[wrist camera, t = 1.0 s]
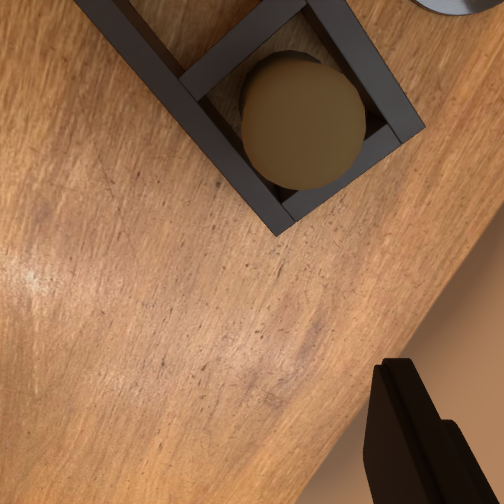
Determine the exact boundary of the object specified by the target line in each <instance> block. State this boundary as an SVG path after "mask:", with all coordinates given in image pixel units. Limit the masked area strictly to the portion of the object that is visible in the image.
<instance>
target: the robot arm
mask: <svg viewBox="0 0 504 504" xmlns="http://www.w3.org/2000/svg"><path fill="white" fill-rule="evenodd" d="M363 461H364V467H365V471H366V475H367V479H368V483H369V487H370V491H371V495H372V498H373V503H374V504H500V503H499V502H498V500H497V498H496V496H495V494H494V492H493V490H492V488H491V486H490V485H489V483H488V481H487V479H486V477H485V475H484V473H483V472H482V470H481V468H480V466H479V464H478V462H477V460H476V458H475V456H474V455H473V453H472V451H471V449H470V447H469V445H468V443H467V441H466V440H465V438H464V436H463V434H462V432H461V430H460V428H459V427H458V425H457V424H456V423H455V422H454V421H453V420H441V418H440V416H439V414H438V412H437V410H436V408H435V406H434V404H433V402H432V400H431V398H430V396H429V394H428V392H427V390H426V388H425V386H424V384H423V382H422V380H421V378H420V376H419V374H418V372H417V370H416V368H415V366H414V364H413V362H412V360H411V359H409V358H384V359H383V361H382V365H375V366H374V370H373V377H372V385H371V393H370V400H369V408H368V416H367V423H366V431H365V438H364V446H363Z"/></svg>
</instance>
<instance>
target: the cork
mask: <svg viewBox="0 0 504 504" xmlns="http://www.w3.org/2000/svg"><path fill="white" fill-rule="evenodd" d="M239 109H240V115H241V121H242V125H241V134H242V140H243V146H244V150H245V152H246V154H247V156H248V158H249V160H250V161H251V163H252V165H253V167H254V168H255V169H256V170H257V171H258V172H259V173H260V174H261V175H262V176H264V177H265V178H266V179H267V180H269V181H271V182H273V183H275V184H277V185H279V186H281V187H283V188H287V189H294V190H301V191H303V190H310V189H316V188H321V187H323V186H325V185H327V184H329V183H331V182H333V181H335V180H337V179H338V178H339V177H340V176H342V175H343V174H344V173H345V172H346V171H347V170H348V169H349V168H350V167H351V166H352V164H353V163H354V161H355V159H356V158H357V156H358V154H359V153H360V151H361V148H362V144H363V140H364V136H365V132H366V122H365V108H364V106H363V103H362V101H361V98H360V96H359V93H358V91H357V89H356V88H355V87H354V86H353V85H352V83H351V82H350V81H349V80H348V79H347V78H346V76H345V75H343V74H342V73H340V72H338V71H336V70H335V69H333V68H331V67H329V66H327V65H324V64H322V63H321V62H320V61H319V60H317V59H316V58H314V57H312V56H310V55H308V54H307V53H304V52H298V51H292V50H287V51H282V52H276V53H273V54H271V55H269V56H267V57H266V58H264V59H262V60H260V61H259V62H258V63H257V64H256V65H255V66H254V67H253V68H252V69H251V71H250V72H249V73H248V74H247V76H246V79H245V81H244V83H243V85H242V87H241V92H240V99H239Z"/></svg>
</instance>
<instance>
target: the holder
mask: <svg viewBox="0 0 504 504" xmlns="http://www.w3.org/2000/svg"><path fill="white" fill-rule="evenodd" d="M74 1H75V3H76V4H77V5H78V6H79V7H80V8H81V10H82V11H83V12H84V13H85V14H86V15H87V17H88V18H89V19H90V20H91V21H92V22H93V24H94V25H95V26H96V27H97V28H98V29H99V31H100V32H101V33H102V34H103V35H104V36H105V38H106V39H107V40H108V41H109V42H110V44H111V45H112V46H113V47H114V48H115V49H116V51H117V52H118V53H119V54H120V55H121V56H122V58H123V59H124V60H125V61H126V62H127V63H128V65H129V66H130V67H131V68H132V69H133V70H134V72H135V73H136V74H137V75H138V76H139V77H140V79H141V80H142V81H143V82H144V83H145V84H146V86H147V87H148V88H149V89H150V90H151V91H152V93H153V94H154V95H155V96H156V97H157V98H158V100H159V101H160V102H161V103H162V104H163V105H164V107H165V108H166V109H167V110H168V111H169V113H170V114H171V115H172V116H173V117H174V118H175V120H176V121H177V122H178V123H179V124H180V125H181V127H182V128H183V129H184V130H185V131H186V132H187V134H188V135H189V136H190V137H191V138H192V139H193V141H194V142H195V143H196V144H197V145H198V146H199V148H200V149H201V150H202V151H203V152H204V153H205V155H206V156H207V157H208V158H209V159H210V160H211V162H212V163H213V164H214V165H215V166H216V167H217V169H218V170H219V171H220V172H221V173H222V175H223V176H224V177H225V178H226V179H227V180H228V182H229V183H230V184H231V185H232V186H233V187H234V189H235V190H236V191H237V192H238V193H239V194H240V196H241V197H242V198H243V199H244V200H245V201H246V203H247V204H248V205H249V206H250V207H251V208H252V210H253V211H254V212H255V213H256V214H257V215H258V217H259V218H260V219H261V220H262V221H263V222H264V224H265V225H266V226H267V227H268V228H269V229H270V231H271V232H272V233H273V234H274V235H275V236H276V237H277V236H278V235H280V234H281V233H282V232H284V231H285V230H287V229H288V228H289V227H291V226H292V225H293V224H295V223H296V222H298V221H299V220H300V219H302V218H303V217H304V216H306V215H307V214H309V213H310V212H311V211H313V210H314V209H315V208H317V207H318V206H319V205H321V204H322V203H323V202H325V201H326V200H328V199H329V198H330V197H332V196H333V195H334V194H336V193H337V192H338V191H340V190H341V189H343V188H344V187H345V186H347V185H348V184H349V183H351V182H352V181H353V180H355V179H356V178H357V177H359V176H360V175H362V174H363V173H364V172H366V171H367V170H368V169H370V168H371V167H372V166H374V165H375V164H377V163H378V162H379V161H381V160H382V159H383V158H385V157H386V156H387V155H389V154H390V153H391V152H393V151H394V150H396V149H397V148H398V147H400V146H401V145H402V144H404V143H405V142H406V141H408V140H409V139H410V138H412V137H413V136H414V135H416V134H417V133H419V132H420V131H421V130H423V129H424V128H425V127H426V126H425V124H424V123H423V121H422V120H421V118H420V117H419V115H418V113H417V112H416V110H415V109H414V107H413V106H412V104H411V102H410V101H409V99H408V98H407V96H406V95H405V93H404V91H403V90H402V88H401V87H400V85H399V84H398V82H397V80H396V79H395V77H394V76H393V74H392V73H391V71H390V69H389V68H388V66H387V65H386V63H385V62H384V60H383V58H382V57H381V55H380V54H379V52H378V51H377V49H376V47H375V46H374V44H373V43H372V41H371V40H370V38H369V36H368V35H367V33H366V32H365V30H364V29H363V27H362V25H361V24H360V22H359V21H358V19H357V18H356V16H355V14H354V13H353V11H352V10H351V8H350V7H349V5H348V3H347V2H346V0H262V1H261V2H260V3H259V4H258V5H257V6H256V7H255V8H253V9H252V10H251V11H250V12H249V13H248V14H247V15H246V16H245V17H244V18H243V19H242V20H240V21H239V22H238V23H237V24H236V25H235V26H234V27H233V28H232V29H231V30H230V31H229V32H228V33H226V34H225V35H224V36H223V37H222V38H221V39H220V40H219V41H218V42H217V43H216V44H215V45H214V46H212V47H211V48H210V49H209V50H208V51H207V52H206V53H205V54H204V55H203V56H202V57H201V58H199V59H198V60H197V61H196V62H195V63H194V64H193V65H192V66H191V67H190V68H189V69H188V70H187V71H185V70H184V69H183V68H182V67H181V65H180V64H179V63H178V62H177V60H176V59H175V58H174V57H173V55H172V54H171V53H170V52H169V51H168V49H167V48H166V47H165V46H164V44H163V43H162V42H161V41H160V39H159V38H158V37H157V36H156V35H155V33H154V32H153V31H152V30H151V28H150V27H149V26H148V25H147V23H146V22H145V21H144V20H143V19H142V17H141V16H140V15H139V14H138V12H137V11H136V10H135V9H134V7H133V6H132V5H131V4H130V2H129V1H128V0H74ZM300 10H301V12H302V13H303V15H304V16H305V18H306V19H307V21H308V22H309V24H310V25H311V27H312V28H313V30H314V31H315V32H316V34H317V35H318V37H319V38H320V40H321V41H322V43H323V44H324V46H325V47H326V49H327V50H328V52H329V53H330V55H331V56H332V58H333V59H334V60H335V62H336V63H337V65H338V66H339V68H340V69H341V71H342V72H343V74H344V75H345V76H346V78H347V79H348V80H349V81H350V82H351V83H352V85H353V86H354V87H355V88H356V89H357V91H358V93H359V96H360V98H361V100H362V102H363V103H364V105H365V106H366V108H367V109H368V111H369V112H370V114H369V115H368V116H366V117H365V122H366V132H365V136H364V140H363V144H362V148H361V151H360V153H359V154H358V156H357V158H356V159H355V161H354V163H353V164H352V166H351V167H350V168H349V169H348V170H347V171H346V172H345V173H344V174H343V175H342V176H340V177H339V178H338V179H337V180H335V181H333V182H331V183H329V184H327V185H325V186H323V187H321V188H316V189H310V190H303V191H301V190H294V189H287V188H283V187H281V186H279V185H277V184H275V183H273V182H271V181H269V180H267V179H266V178H265V177H264V176H262V175H261V174H260V173H259V172H258V171H257V170H256V169H255V168H254V167H253V165H252V163H251V161H250V160H249V158H248V156H247V154H246V152H245V150H244V146H243V142H242V141H241V139H240V138H239V137H238V136H237V134H236V133H235V132H234V131H233V129H232V128H231V127H230V126H229V125H228V123H227V122H226V121H225V120H224V118H223V117H222V116H221V115H220V113H219V112H218V111H217V110H216V108H215V107H214V106H213V105H212V104H211V102H210V101H209V100H208V99H207V97H206V96H205V95H206V94H207V93H208V92H209V91H211V90H212V89H213V88H214V87H215V86H216V85H217V84H218V83H220V82H221V81H222V80H223V79H224V78H225V77H226V76H227V75H228V74H230V73H231V72H232V71H233V70H234V69H235V68H236V67H237V66H239V65H240V64H241V63H242V62H243V61H244V60H245V59H246V58H248V57H249V56H250V55H251V54H252V53H253V52H254V51H255V50H256V49H258V48H259V47H260V46H261V45H262V44H263V43H264V42H265V41H267V40H268V39H269V38H270V37H271V36H272V35H273V34H274V33H276V32H277V31H278V30H279V29H280V28H281V27H282V26H283V25H284V24H286V23H287V22H288V21H289V20H290V19H291V18H292V17H293V16H295V15H296V14H297V13H298V12H299V11H300Z"/></svg>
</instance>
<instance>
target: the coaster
mask: <svg viewBox="0 0 504 504" xmlns="http://www.w3.org/2000/svg"><path fill="white" fill-rule="evenodd" d="M412 1H413V2H414V3H416V4H417V5H418V6H420V7H422V8H423V9H425V10H427V11H430V12H433V13H435V14H439V15H445V16H465V15H471V14H475V13H479V12H483V11H485V10H488V9H490V8H493V7H495V6H496V5H498V4H500V3H502V2H504V0H412Z"/></svg>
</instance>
